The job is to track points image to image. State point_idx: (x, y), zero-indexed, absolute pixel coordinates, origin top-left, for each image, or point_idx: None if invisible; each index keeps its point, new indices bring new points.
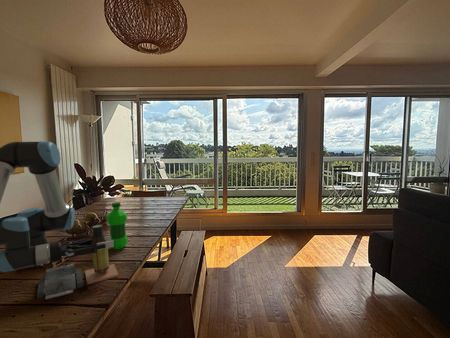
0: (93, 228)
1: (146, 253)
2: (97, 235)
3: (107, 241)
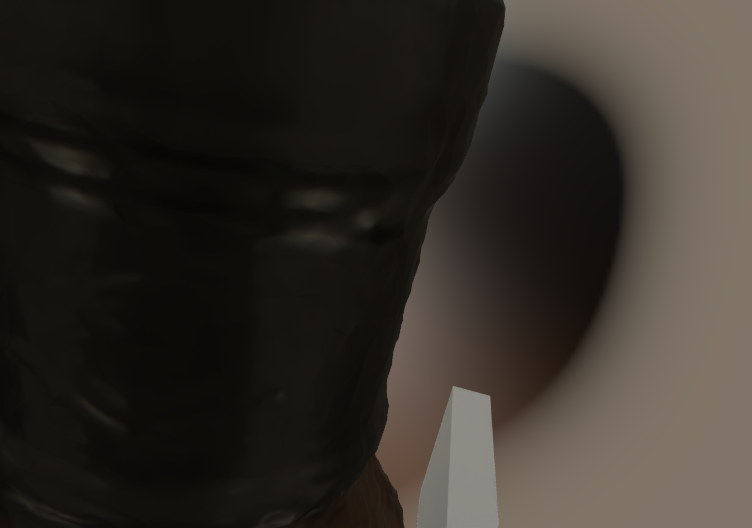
0: (361, 10)
1: None
2: (369, 409)
3: (463, 462)
